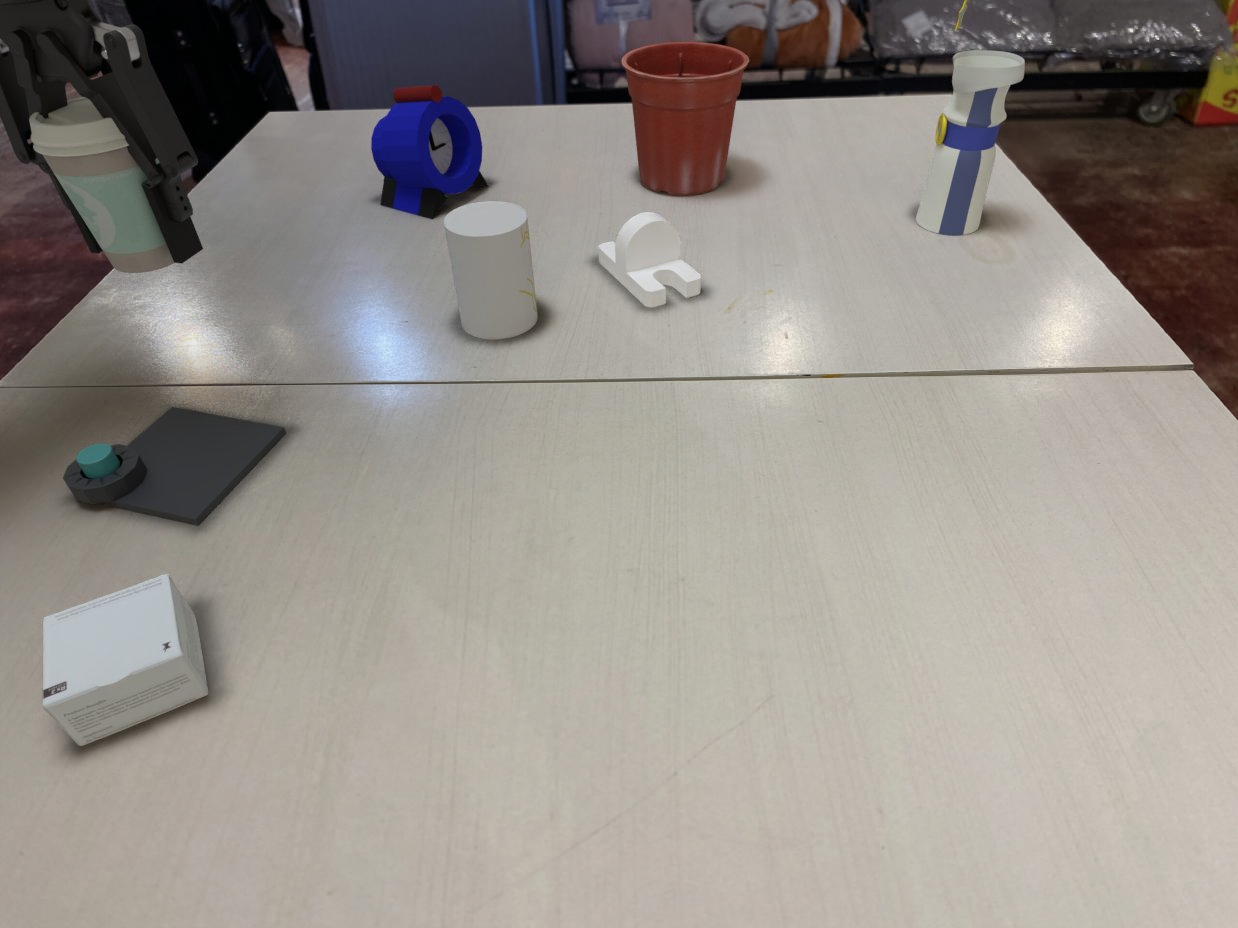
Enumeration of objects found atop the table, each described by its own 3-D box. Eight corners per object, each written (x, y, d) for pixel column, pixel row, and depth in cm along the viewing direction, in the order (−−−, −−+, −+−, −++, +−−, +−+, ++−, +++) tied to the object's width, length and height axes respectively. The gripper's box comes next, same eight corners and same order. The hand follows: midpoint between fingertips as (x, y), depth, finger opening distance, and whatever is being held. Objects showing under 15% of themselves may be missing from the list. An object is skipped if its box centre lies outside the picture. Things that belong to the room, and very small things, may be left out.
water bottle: (915, 235, 100) (967, 10, 84) (909, 207, 106) (956, -8, 90) (985, 239, 99) (1052, 11, 82) (975, 210, 105) (1035, -7, 89)
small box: (198, 616, 57) (170, 568, 54) (213, 701, 52) (183, 653, 49) (77, 661, 55) (40, 614, 51) (80, 755, 50) (38, 709, 46)
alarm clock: (436, 220, 107) (414, 102, 97) (369, 202, 112) (342, 88, 102) (493, 187, 115) (478, 75, 105) (428, 172, 120) (408, 63, 110)
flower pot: (708, 213, 107) (715, 84, 96) (602, 190, 113) (598, 67, 103) (757, 170, 117) (768, 50, 107) (657, 152, 124) (658, 36, 113)
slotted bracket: (703, 298, 90) (706, 233, 85) (648, 314, 87) (648, 247, 82) (647, 252, 99) (647, 190, 93) (596, 265, 96) (593, 202, 91)
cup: (547, 334, 85) (537, 227, 77) (472, 352, 83) (454, 243, 75) (525, 299, 91) (514, 195, 83) (454, 314, 88) (435, 209, 80)
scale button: (78, 476, 65) (68, 460, 64) (102, 456, 67) (92, 440, 66) (104, 482, 65) (94, 466, 64) (127, 461, 67) (118, 445, 65)
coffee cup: (99, 246, 70) (29, 101, 62) (204, 228, 72) (149, 86, 64) (90, 290, 64) (10, 136, 56) (204, 269, 66) (143, 118, 58)
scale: (65, 508, 66) (47, 482, 64) (171, 417, 75) (158, 391, 74) (195, 538, 63) (180, 510, 61) (288, 439, 73) (278, 412, 71)
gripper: (173, -81, 53) (278, 243, 68) (-68, -83, 58) (81, 221, 73) (89, -62, 48) (223, 285, 63) (-170, -66, 52) (13, 258, 67)
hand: (147, 250), depth 68 cm, fingers closed on coffee cup, 8 cm apart
